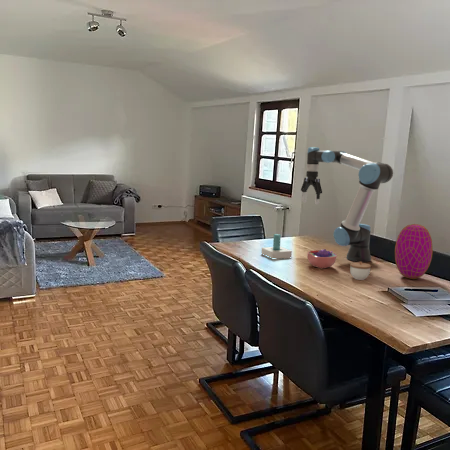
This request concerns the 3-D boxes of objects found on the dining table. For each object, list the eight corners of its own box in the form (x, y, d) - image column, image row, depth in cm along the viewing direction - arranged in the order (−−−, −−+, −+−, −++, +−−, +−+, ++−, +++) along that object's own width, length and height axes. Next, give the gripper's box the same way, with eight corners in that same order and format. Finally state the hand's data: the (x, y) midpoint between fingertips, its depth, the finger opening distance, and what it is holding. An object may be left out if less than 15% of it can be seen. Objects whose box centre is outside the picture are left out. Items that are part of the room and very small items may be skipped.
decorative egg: (431, 277, 264) (437, 224, 260) (426, 285, 248) (432, 228, 243) (396, 271, 274) (401, 220, 269) (389, 278, 257) (394, 224, 252)
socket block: (291, 257, 299) (291, 251, 298) (272, 259, 293) (272, 252, 292) (280, 253, 311) (280, 246, 311) (261, 254, 306) (261, 247, 305)
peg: (280, 256, 301) (281, 235, 299) (274, 257, 299) (275, 235, 297) (277, 255, 305) (278, 233, 303) (271, 255, 303) (272, 234, 301)
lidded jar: (359, 281, 249) (360, 264, 248) (345, 276, 259) (346, 260, 257) (373, 279, 254) (375, 263, 253) (359, 274, 264) (361, 258, 262)
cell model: (333, 263, 287) (334, 245, 285) (337, 272, 268) (339, 252, 266) (305, 262, 289) (306, 244, 287) (307, 270, 269) (309, 251, 267)
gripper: (296, 170, 320) (295, 201, 323) (319, 171, 298) (317, 205, 301) (305, 170, 323) (304, 200, 327) (329, 171, 301) (327, 204, 305)
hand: (310, 202), depth 314 cm, fingers open, 13 cm apart
